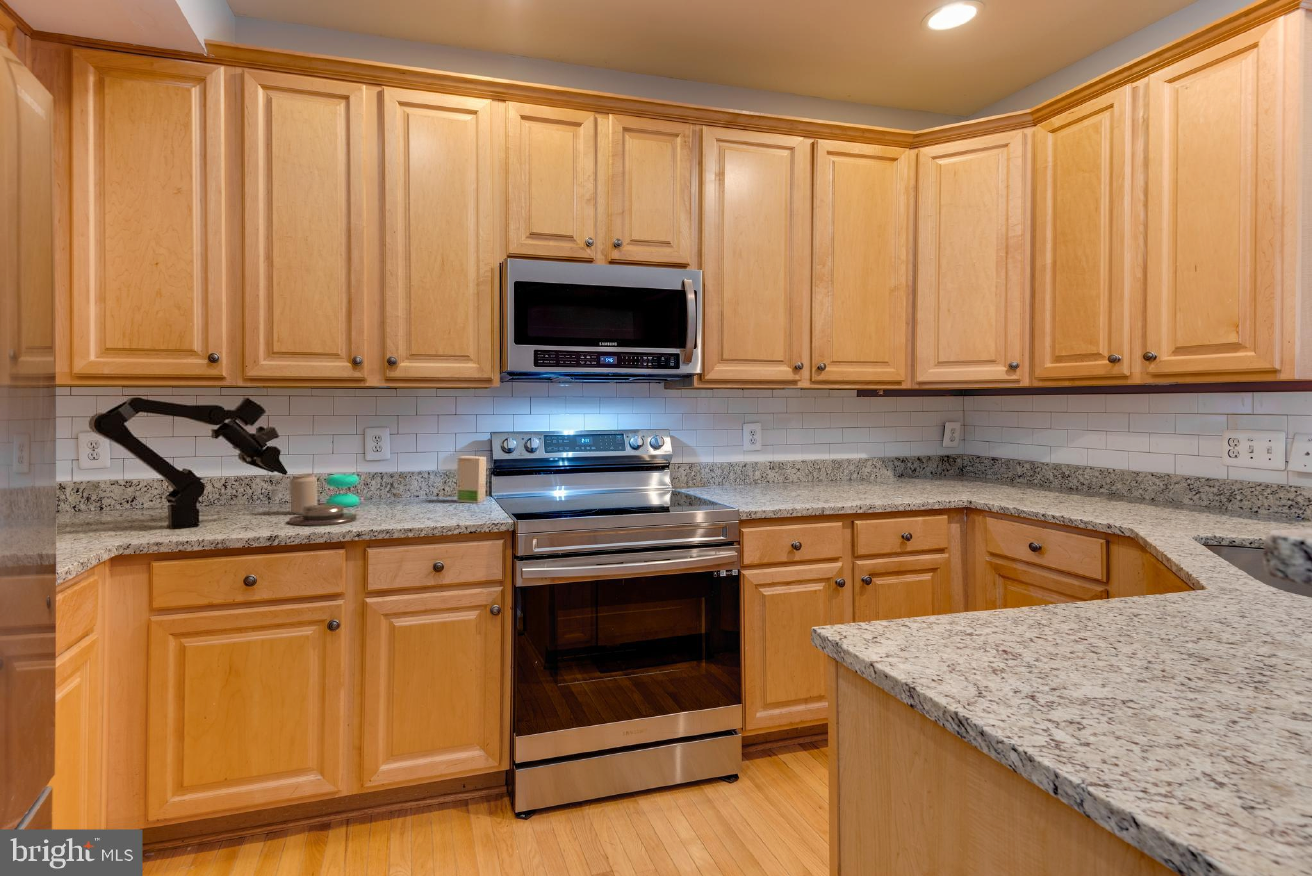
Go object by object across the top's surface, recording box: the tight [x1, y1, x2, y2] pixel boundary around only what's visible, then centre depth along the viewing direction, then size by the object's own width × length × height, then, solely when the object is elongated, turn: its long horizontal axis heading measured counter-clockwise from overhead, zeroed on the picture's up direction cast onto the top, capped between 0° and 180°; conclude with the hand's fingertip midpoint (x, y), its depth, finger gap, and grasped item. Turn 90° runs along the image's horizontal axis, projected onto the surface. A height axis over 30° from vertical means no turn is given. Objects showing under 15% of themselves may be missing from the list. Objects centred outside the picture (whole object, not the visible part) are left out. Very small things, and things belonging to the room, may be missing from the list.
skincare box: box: [456, 455, 487, 504], centre depth 257 cm, size 8×7×16 cm
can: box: [289, 473, 318, 515], centre depth 231 cm, size 8×8×12 cm
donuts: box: [325, 473, 360, 508], centre depth 246 cm, size 10×10×10 cm
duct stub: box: [288, 503, 357, 527], centre depth 218 cm, size 18×18×4 cm
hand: (280, 472), depth 226 cm, fingers open, 9 cm apart
